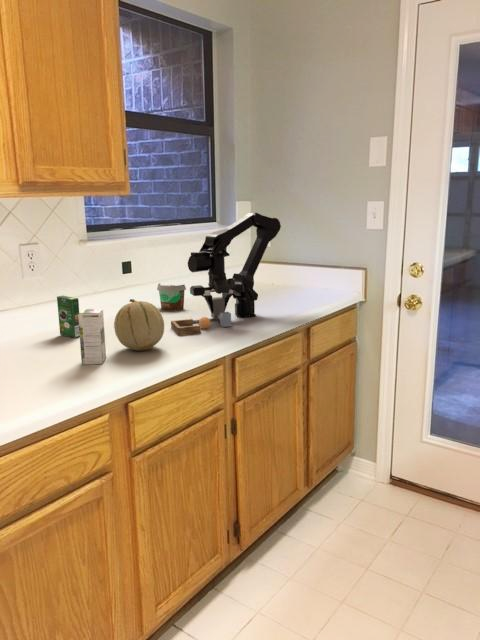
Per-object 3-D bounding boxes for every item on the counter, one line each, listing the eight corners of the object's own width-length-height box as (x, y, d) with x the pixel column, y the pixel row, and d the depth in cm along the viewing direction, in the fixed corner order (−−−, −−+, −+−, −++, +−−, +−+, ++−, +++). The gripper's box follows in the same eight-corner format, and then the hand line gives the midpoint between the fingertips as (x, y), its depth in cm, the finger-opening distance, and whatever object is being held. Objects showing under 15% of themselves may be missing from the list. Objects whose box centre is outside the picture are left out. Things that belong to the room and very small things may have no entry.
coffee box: (82, 336, 174) (78, 297, 171) (75, 338, 172) (71, 298, 169) (67, 333, 179) (63, 295, 176) (59, 335, 177) (55, 296, 174)
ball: (208, 326, 184) (208, 315, 184) (212, 329, 181) (211, 317, 180) (197, 327, 183) (197, 316, 182) (200, 330, 180) (200, 318, 179)
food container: (152, 310, 213) (150, 285, 211) (160, 307, 219) (158, 283, 216) (179, 312, 209) (178, 286, 206) (186, 308, 214) (185, 284, 212)
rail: (224, 319, 194) (224, 317, 194) (225, 320, 193) (225, 317, 193) (183, 323, 189) (183, 321, 189) (184, 324, 188) (184, 321, 188)
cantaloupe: (150, 358, 149) (147, 306, 146) (105, 354, 154) (101, 303, 151) (174, 344, 163) (172, 296, 159) (132, 341, 168) (129, 294, 164)
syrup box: (85, 359, 150) (81, 308, 147) (107, 358, 151) (103, 307, 147) (81, 365, 145) (76, 313, 141) (103, 364, 145) (99, 312, 142)
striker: (221, 318, 195) (221, 296, 193) (232, 325, 184) (232, 303, 182) (211, 319, 194) (210, 297, 192) (221, 327, 182) (220, 304, 180)
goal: (192, 325, 186) (192, 318, 186) (200, 333, 176) (200, 325, 175) (171, 327, 184) (170, 320, 183) (178, 335, 174) (178, 327, 173)
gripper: (196, 274, 178) (198, 319, 182) (249, 270, 184) (249, 314, 188) (188, 270, 188) (190, 313, 192) (238, 267, 194) (239, 308, 198)
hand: (217, 312), depth 192 cm, fingers closed on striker, 4 cm apart
